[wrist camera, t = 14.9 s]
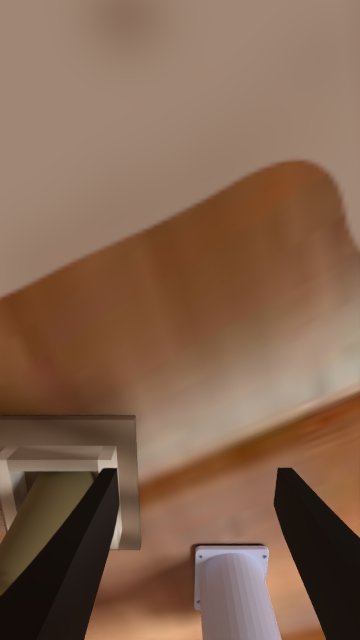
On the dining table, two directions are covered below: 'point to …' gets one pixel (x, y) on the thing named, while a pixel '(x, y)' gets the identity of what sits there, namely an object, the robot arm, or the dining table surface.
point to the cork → (40, 519)
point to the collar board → (71, 461)
